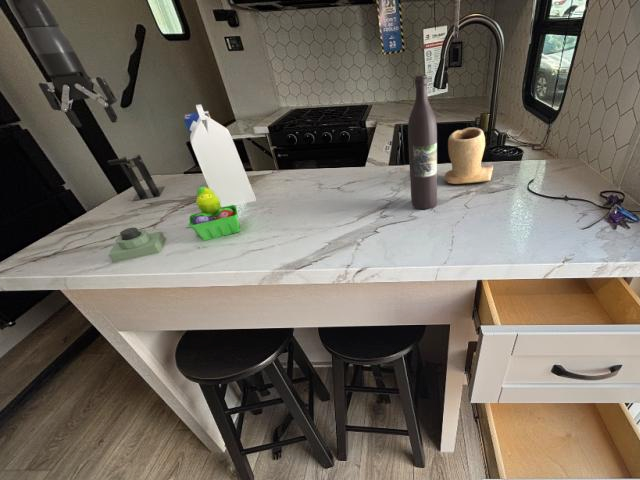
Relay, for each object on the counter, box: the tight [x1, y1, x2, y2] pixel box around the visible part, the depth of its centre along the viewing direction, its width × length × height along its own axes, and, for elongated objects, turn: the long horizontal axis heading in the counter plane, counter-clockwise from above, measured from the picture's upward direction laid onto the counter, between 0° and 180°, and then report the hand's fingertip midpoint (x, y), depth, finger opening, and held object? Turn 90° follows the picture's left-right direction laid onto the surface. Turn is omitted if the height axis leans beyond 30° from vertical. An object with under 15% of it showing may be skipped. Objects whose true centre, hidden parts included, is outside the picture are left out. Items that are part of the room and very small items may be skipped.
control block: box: [107, 229, 166, 263], centre depth 83 cm, size 10×8×4 cm
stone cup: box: [444, 127, 494, 185], centre depth 100 cm, size 15×12×15 cm
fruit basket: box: [188, 185, 241, 242], centre depth 85 cm, size 11×9×11 cm
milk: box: [189, 104, 258, 207], centre depth 99 cm, size 12×12×26 cm
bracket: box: [119, 154, 165, 202], centre depth 110 cm, size 10×8×13 cm
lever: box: [107, 157, 137, 169], centre depth 103 cm, size 12×4×2 cm, turn 19°
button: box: [119, 227, 141, 240], centre depth 81 cm, size 4×4×2 cm
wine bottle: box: [407, 74, 438, 210], centre depth 84 cm, size 7×7×30 cm
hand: (97, 124), depth 92 cm, fingers open, 8 cm apart
